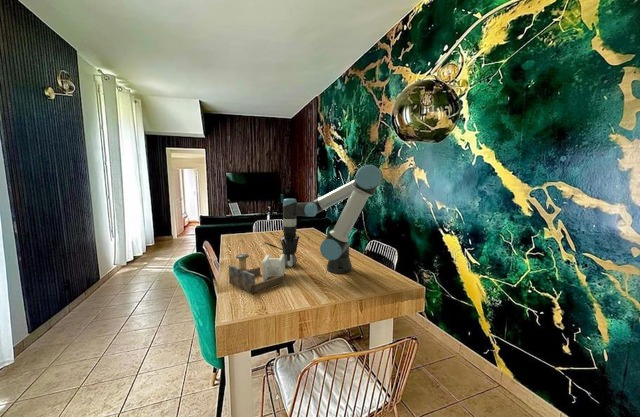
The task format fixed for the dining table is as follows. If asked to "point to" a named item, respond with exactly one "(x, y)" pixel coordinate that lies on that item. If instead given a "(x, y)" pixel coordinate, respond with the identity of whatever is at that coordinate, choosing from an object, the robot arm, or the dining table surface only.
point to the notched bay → (251, 280)
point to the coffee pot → (285, 255)
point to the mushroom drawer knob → (242, 261)
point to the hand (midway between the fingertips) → (290, 265)
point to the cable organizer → (273, 266)
